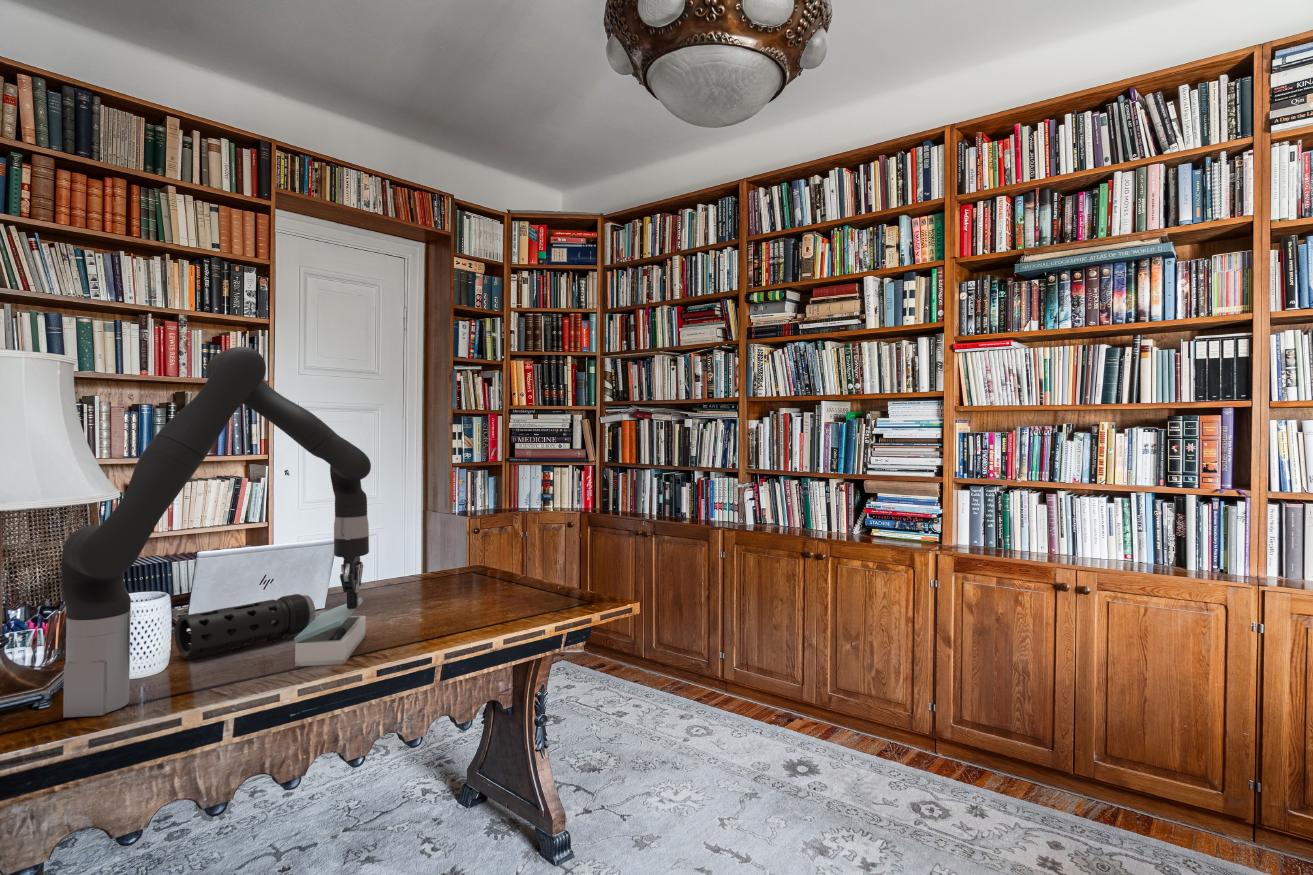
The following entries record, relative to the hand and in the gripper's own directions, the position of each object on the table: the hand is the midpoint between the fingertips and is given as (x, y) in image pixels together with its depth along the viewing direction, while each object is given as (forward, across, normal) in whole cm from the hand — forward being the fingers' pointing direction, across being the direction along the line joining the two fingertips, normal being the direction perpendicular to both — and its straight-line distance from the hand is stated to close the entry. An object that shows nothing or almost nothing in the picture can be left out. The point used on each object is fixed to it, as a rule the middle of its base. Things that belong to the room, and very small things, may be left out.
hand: (352, 607), depth 165 cm
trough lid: (+3, 0, -5) cm, 5 cm away
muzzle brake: (+10, -6, -24) cm, 27 cm away
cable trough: (+10, 0, -4) cm, 11 cm away
